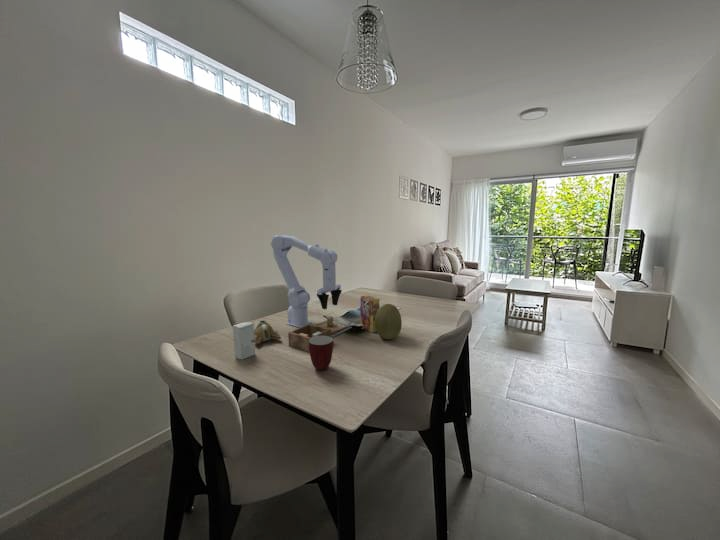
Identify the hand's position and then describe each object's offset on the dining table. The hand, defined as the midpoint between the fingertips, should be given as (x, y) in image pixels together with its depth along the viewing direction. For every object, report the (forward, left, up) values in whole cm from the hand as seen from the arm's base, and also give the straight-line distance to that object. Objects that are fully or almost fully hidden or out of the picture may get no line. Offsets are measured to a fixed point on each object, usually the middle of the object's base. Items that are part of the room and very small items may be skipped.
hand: (329, 306), depth 134 cm
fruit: (+28, +4, -11) cm, 30 cm away
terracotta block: (+2, -21, -10) cm, 23 cm away
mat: (0, 0, -10) cm, 10 cm away
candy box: (+16, +9, -11) cm, 21 cm away
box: (+4, -18, -10) cm, 21 cm away
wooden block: (0, 0, -10) cm, 10 cm away
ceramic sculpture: (-15, -25, -11) cm, 31 cm away
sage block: (+7, -16, -10) cm, 20 cm away
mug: (+22, -32, -11) cm, 40 cm away
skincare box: (-9, -39, -11) cm, 41 cm away
